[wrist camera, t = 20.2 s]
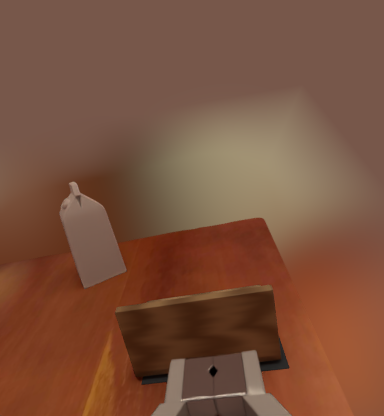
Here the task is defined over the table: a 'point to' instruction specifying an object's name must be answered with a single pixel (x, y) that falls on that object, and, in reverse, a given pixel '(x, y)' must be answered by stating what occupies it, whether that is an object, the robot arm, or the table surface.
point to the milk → (90, 238)
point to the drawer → (200, 327)
